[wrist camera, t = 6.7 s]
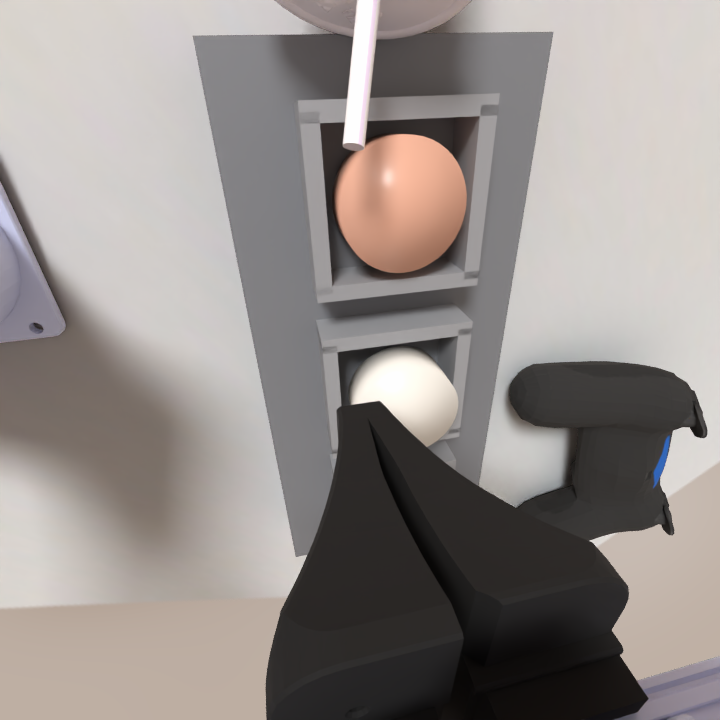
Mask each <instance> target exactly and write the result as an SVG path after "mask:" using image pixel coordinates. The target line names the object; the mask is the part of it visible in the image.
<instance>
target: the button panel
mask: <svg viewBox="0 0 720 720" xmlns="http://www.w3.org/2000/svg"><path fill="white" fill-rule="evenodd" d="M552 37H553V32H503V33H420V34H416V35H413V36H409V37H403V38H397V39H379V40H376V46H375V55H374V65H373V74H372V83H371V92H370V102H369V111H368V120H367V129H366V139H365V140H367V139H369V138H371V137H374V136H377V135H380V134H387V133H399V134H411V135H419V136H424V137H427V138H430V139H432V140H434V141H436V142H438V143H440V144H441V145H442V146H444V147H445V148H446V149H447V150H448V151H449V152H450V153H451V154H452V155H453V157H454V158H455V159H456V161H457V162H458V164H459V166H460V168H461V170H462V173H463V176H464V180H465V184H466V193H467V202H466V211H465V215H464V219H463V223H462V225H461V228H460V230H459V232H458V234H457V236H456V238H455V239H454V241H453V242H452V244H451V245H450V246H449V248H448V249H447V250H446V251H445V252H444V253H443V254H442V255H441V256H440V257H439V258H437V259H436V260H435V261H433V262H432V263H430V264H429V265H427V266H425V267H423V268H420V269H418V270H415V271H411V272H405V273H390V272H385V271H381V270H379V269H376V268H374V267H372V266H370V265H368V264H367V263H366V262H364V261H363V260H362V259H361V258H360V257H359V256H358V255H357V254H356V253H355V252H354V251H353V249H352V248H351V246H350V245H349V244H348V242H347V241H346V239H345V238H344V236H343V235H342V234H341V232H340V230H339V228H338V226H337V224H336V221H335V218H334V214H333V208H332V191H333V185H334V181H335V178H336V175H337V172H338V170H339V168H340V166H341V164H342V163H343V161H344V160H345V158H346V157H347V156H348V154H349V153H350V152H351V151H352V150H348V149H346V148H344V147H343V137H344V126H345V116H346V106H347V96H348V86H349V76H350V66H351V56H352V46H353V37H349V36H345V35H340V34H312V35H217V36H193V39H194V44H195V50H196V55H197V60H198V65H199V70H200V75H201V80H202V85H203V90H204V95H205V100H206V105H207V110H208V115H209V120H210V125H211V130H212V135H213V140H214V145H215V151H216V156H217V161H218V166H219V171H220V176H221V181H222V186H223V191H224V196H225V201H226V206H227V211H228V216H229V221H230V226H231V231H232V236H233V241H234V247H235V252H236V257H237V262H238V267H239V272H240V277H241V282H242V287H243V292H244V297H245V302H246V307H247V312H248V317H249V322H250V327H251V332H252V337H253V342H254V348H255V353H256V358H257V363H258V368H259V373H260V378H261V383H262V388H263V393H264V398H265V403H266V408H267V413H268V418H269V423H270V428H271V433H272V438H273V443H274V449H275V454H276V459H277V464H278V469H279V474H280V479H281V484H282V489H283V494H284V499H285V504H286V509H287V514H288V519H289V524H290V529H291V534H292V539H293V545H294V550H295V555H296V557H298V556H303V555H307V554H308V553H309V550H310V548H311V546H312V543H313V541H314V538H315V536H316V533H317V530H318V527H319V524H320V521H321V518H322V515H323V512H324V509H325V506H326V503H327V499H328V496H329V492H330V488H331V484H332V479H333V474H334V469H335V464H336V459H337V451H338V430H337V413H336V410H337V409H338V408H339V407H340V406H347V405H350V402H349V397H348V389H349V384H350V381H351V378H352V376H353V374H354V373H355V371H356V370H357V368H358V367H359V366H360V365H361V364H362V363H363V362H364V361H365V360H366V359H368V358H369V357H370V356H372V355H373V354H375V353H377V352H379V351H381V350H384V349H387V348H391V347H397V346H409V347H415V348H418V349H421V350H423V351H425V352H426V353H428V354H429V355H430V356H431V357H432V358H433V359H434V360H435V361H436V363H437V364H438V366H439V367H440V368H441V370H442V371H443V373H444V374H445V375H446V377H447V378H448V379H449V381H450V382H451V384H452V385H453V386H454V388H455V390H456V393H457V396H458V411H457V414H456V417H455V420H454V422H453V424H452V425H451V427H450V428H449V429H448V431H447V432H446V433H445V434H444V435H443V436H442V437H441V438H440V439H439V440H437V441H436V442H435V443H433V444H432V445H430V446H428V447H427V448H428V449H430V450H431V451H432V452H433V453H434V454H435V455H437V456H438V457H439V458H440V459H442V460H443V461H444V462H445V463H447V464H448V465H449V466H450V467H452V468H453V469H454V470H456V471H457V472H458V473H460V474H461V475H463V476H464V477H466V478H467V479H468V480H470V481H471V482H473V483H474V484H476V485H477V486H478V485H479V479H480V473H481V467H482V461H483V455H484V449H485V443H486V437H487V431H488V425H489V419H490V413H491V407H492V401H493V395H494V388H495V382H496V376H497V370H498V364H499V358H500V352H501V346H502V340H503V334H504V328H505V322H506V316H507V310H508V304H509V298H510V292H511V286H512V279H513V273H514V267H515V261H516V255H517V249H518V243H519V237H520V231H521V225H522V219H523V213H524V207H525V201H526V195H527V189H528V183H529V177H530V171H531V164H532V158H533V152H534V146H535V140H536V134H537V128H538V122H539V116H540V110H541V104H542V98H543V92H544V86H545V80H546V74H547V68H548V62H549V55H550V49H551V43H552Z"/></svg>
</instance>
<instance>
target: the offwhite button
mask: <svg viewBox="0 0 720 720" xmlns="http://www.w3.org/2000/svg"><path fill="white" fill-rule="evenodd" d="M348 397H349V402H350V405H354V404H361V403H368V402H375V401H380V402H382V403H383V404H384V405H385V406H386V407H387V408H388V410H389V411H390V412H391V413H392V414H393V415H394V416H395V417H396V418H397V419H398V420H399V421H400V422H401V423H402V424H403V425H404V426H405V427H406V428H407V429H408V430H409V431H410V432H411V433H412V434H413V435H414V436H415V437H416V438H417V439H419V440H420V441H421V442H422V443H423V444H424V445H425V446H426V447H428V446H430V445H432V444H433V443H435V442H436V441H437V440H439V439H440V438H441V437H442V436H443V435H444V434H445V433H446V432H447V431H448V429H449V428H450V427H451V425H452V424H453V422H454V420H455V417H456V414H457V411H458V396H457V393H456V390H455V388H454V386H453V385H452V384H451V382H450V381H449V379H448V378H447V377H446V375H445V374H444V373H443V371H442V370H441V368H440V367H439V366H438V364H437V363H436V361H435V360H434V359H433V358H432V357H431V356H430V355H429V354H428V353H426V352H425V351H423V350H421V349H418V348H415V347H409V346H397V347H391V348H387V349H384V350H381V351H379V352H377V353H375V354H373V355H372V356H370V357H369V358H368V359H366V360H365V361H364V362H363V363H362V364H361V365H360V366H359V367H358V368H357V370H356V371H355V373H354V374H353V376H352V378H351V381H350V384H349V389H348Z"/></svg>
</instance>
